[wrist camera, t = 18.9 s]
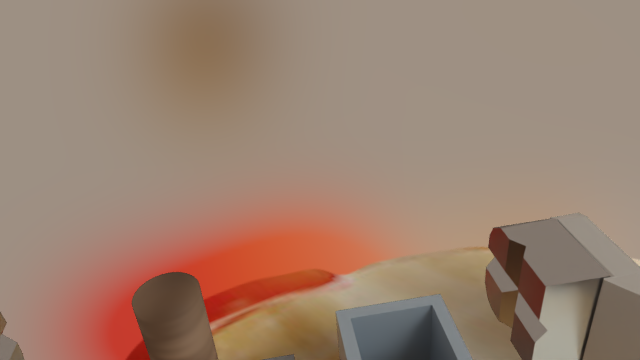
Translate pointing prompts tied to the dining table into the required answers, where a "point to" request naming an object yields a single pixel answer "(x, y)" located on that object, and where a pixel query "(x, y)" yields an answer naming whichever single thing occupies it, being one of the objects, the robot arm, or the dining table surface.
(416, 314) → the grey open-top box
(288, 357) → the tray
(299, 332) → the dining table surface
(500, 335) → the dining table surface
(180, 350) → the walnut dowel
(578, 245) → the robot arm
